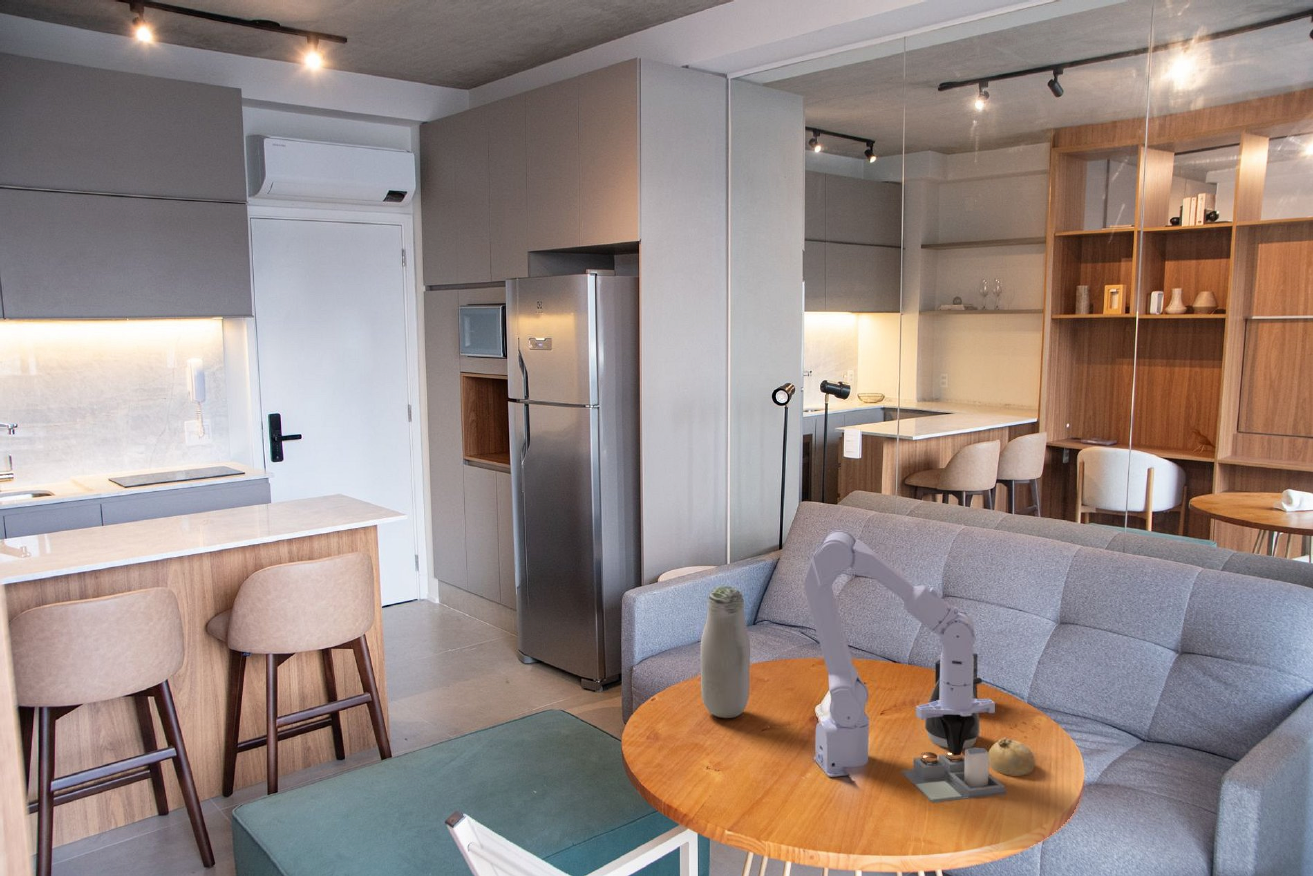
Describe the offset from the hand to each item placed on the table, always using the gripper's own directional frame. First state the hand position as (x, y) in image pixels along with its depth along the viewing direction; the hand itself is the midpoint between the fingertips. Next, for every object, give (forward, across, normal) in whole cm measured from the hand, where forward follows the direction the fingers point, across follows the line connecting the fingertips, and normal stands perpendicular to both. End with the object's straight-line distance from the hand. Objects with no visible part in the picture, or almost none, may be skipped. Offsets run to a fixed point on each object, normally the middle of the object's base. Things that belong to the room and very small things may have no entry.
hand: (954, 753), depth 170 cm
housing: (+5, -2, -4) cm, 7 cm away
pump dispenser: (+5, +6, +12) cm, 15 cm away
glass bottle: (+5, -32, +37) cm, 50 cm away
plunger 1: (+3, -5, 0) cm, 6 cm away
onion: (+5, +11, -1) cm, 12 cm away
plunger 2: (+3, 0, 0) cm, 3 cm away
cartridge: (+3, +1, -6) cm, 7 cm away
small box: (+5, +18, +32) cm, 37 cm away
